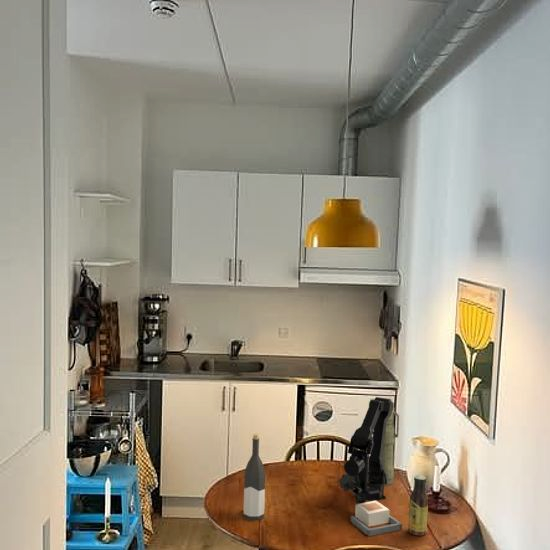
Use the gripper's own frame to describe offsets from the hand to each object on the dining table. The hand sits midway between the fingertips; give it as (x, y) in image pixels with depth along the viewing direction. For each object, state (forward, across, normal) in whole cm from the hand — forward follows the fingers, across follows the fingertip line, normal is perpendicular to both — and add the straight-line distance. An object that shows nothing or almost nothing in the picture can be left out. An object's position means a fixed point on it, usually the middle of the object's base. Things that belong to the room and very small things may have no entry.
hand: (359, 508), depth 216 cm
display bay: (+2, +10, 0) cm, 10 cm away
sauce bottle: (+2, +20, +11) cm, 23 cm away
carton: (+2, +6, +2) cm, 7 cm away
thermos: (+2, -23, +26) cm, 35 cm away
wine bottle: (+2, -11, -38) cm, 40 cm away
